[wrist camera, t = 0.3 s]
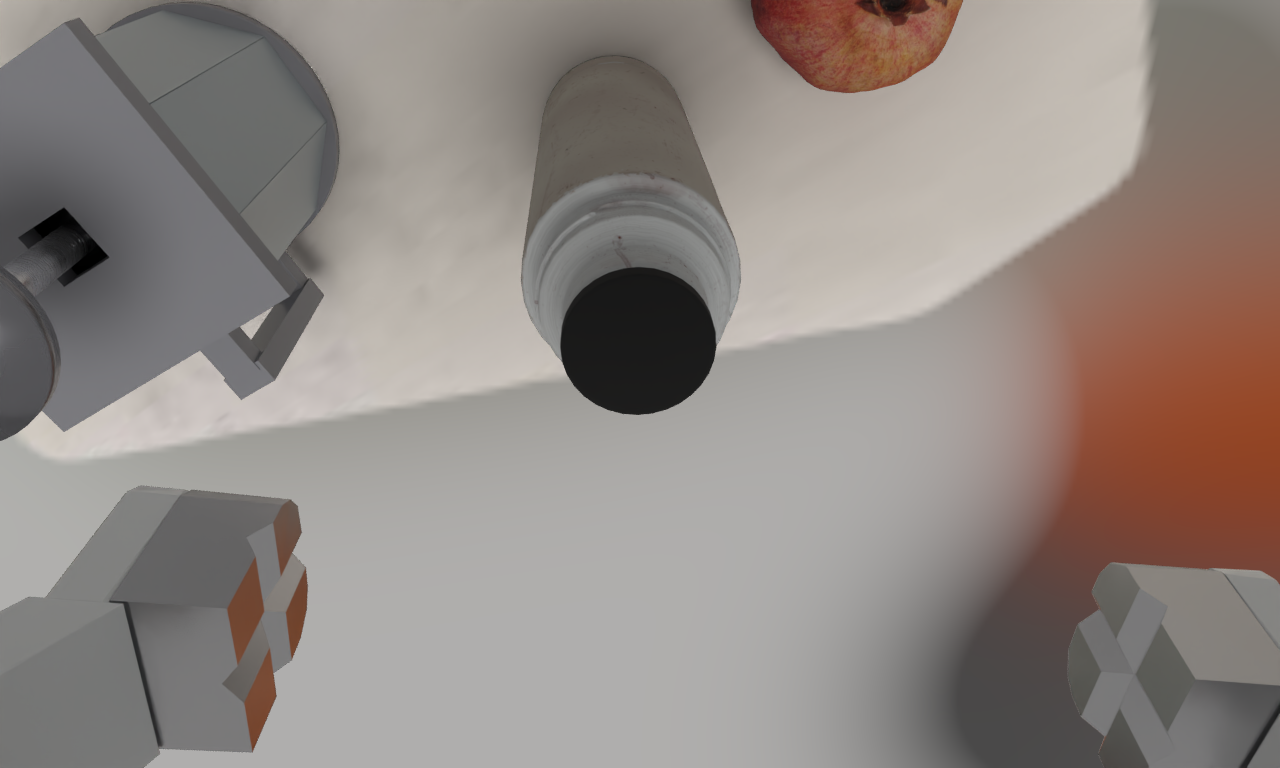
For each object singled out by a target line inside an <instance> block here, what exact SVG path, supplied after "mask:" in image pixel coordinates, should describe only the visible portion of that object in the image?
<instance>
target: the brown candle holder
mask: <svg viewBox="0 0 1280 768" xmlns="http://www.w3.org/2000/svg"><path fill="white" fill-rule="evenodd" d="M33 228H34V229H35V230H36V231H37V232H38V234H39V235H40V236H41V237H42V238H43V239H42V240H40V241H39V242H37V243H36V244H35V245H33V246H32V247H31V248H29V249H28V250H26V251H25V252H24V253H22V254H21V255H19V256H18V257H17V258H15V259H14V260H12V261H11V262H10V263H8V264H7V265H6V266H4V267H2V266H1V265H0V441H1V440H4V439H6V438H8V437H10V436H12V435H14V434H16V433H18V432H19V431H20V430H22V429H23V428H25V427H26V426H27V425H28V424H29V423H30V422H31V421H32V420H33V419H34V418H35V417H36V416H37V415H38V414H39V413H40V412H41V411H42V410H43V409H44V408H45V407H46V405H47V404H48V402H49V401H50V400H51V398H52V397H53V395H54V392H55V390H56V388H57V385H58V381H59V378H60V371H61V355H60V348H59V343H58V339H57V336H56V333H55V331H54V328H53V325H52V323H51V321H50V320H49V318H48V316H47V314H46V312H45V311H44V309H43V308H42V306H41V305H40V303H39V302H38V301H37V299H36V298H35V296H37V295H38V294H39V293H40V292H42V291H43V290H44V289H45V288H46V287H48V286H49V285H50V284H51V283H53V282H54V281H55V280H56V279H57V278H59V277H60V276H61V275H62V274H64V273H65V272H66V271H67V270H69V269H70V268H71V269H72V270H73V271H74V272H75V273H76V274H77V275H79V274H81V273H82V272H84V271H85V270H87V269H88V268H90V267H92V266H93V265H95V264H96V263H98V262H99V261H101V260H102V259H104V258H106V257H107V256H108V255H107V254H106V253H105V252H104V251H103V249H102V248H101V247H100V246H99V245H98V244H97V243H96V242H95V241H94V239H93V238H92V237H91V236H90V235H89V234H88V233H87V232H86V231H85V230H84V228H83V227H82V226H81V225H80V224H79V223H78V222H77V221H76V220H75V219H74V217H73V216H72V215H71V214H70V213H69V212H68V211H67V210H66V209H65V207H63V208H62V209H60V210H59V211H57V212H56V213H54V214H53V215H51V216H50V217H48V218H47V219H45V220H44V221H42V222H41V223H39V224H38V225H36V226H35V227H33Z"/></svg>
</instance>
